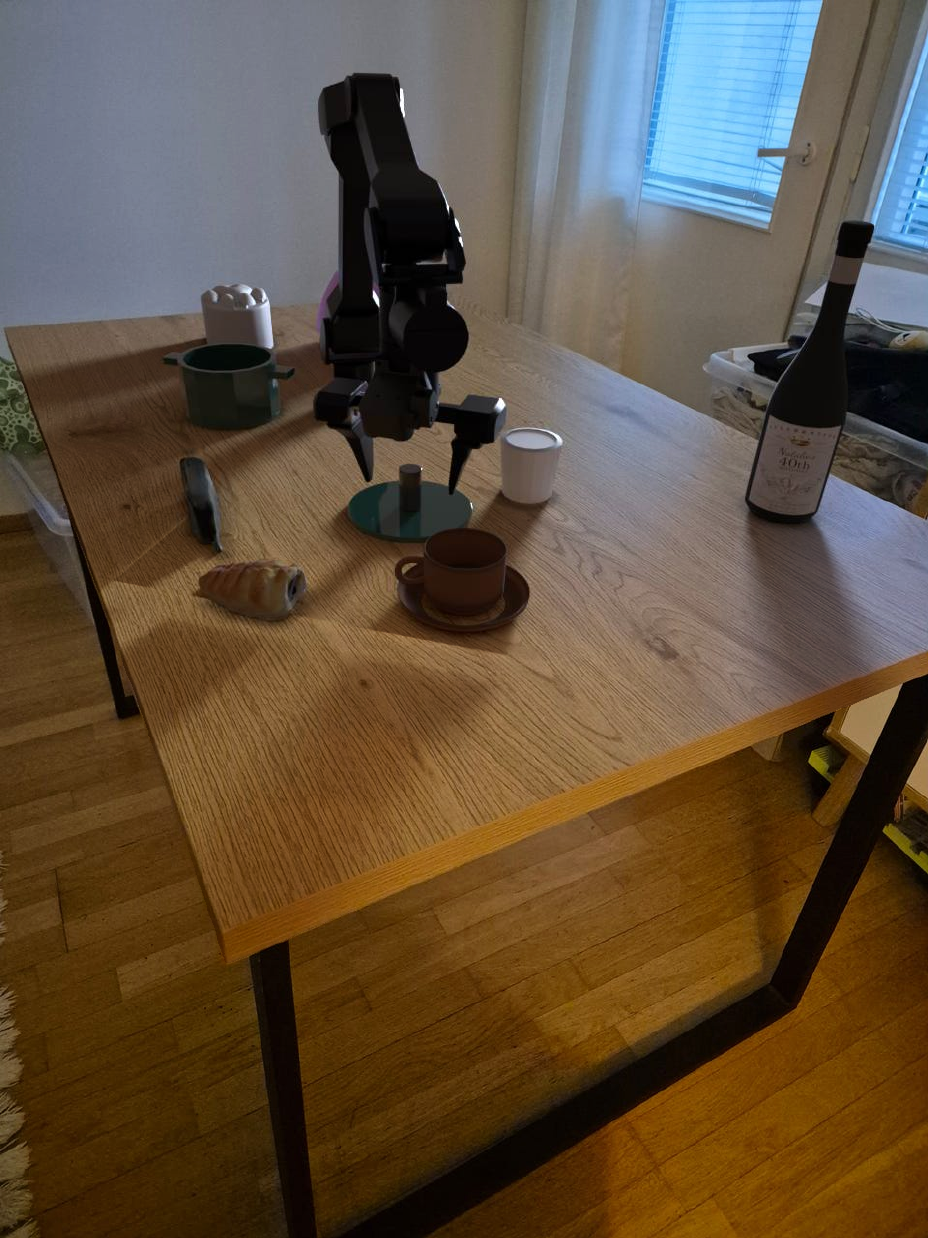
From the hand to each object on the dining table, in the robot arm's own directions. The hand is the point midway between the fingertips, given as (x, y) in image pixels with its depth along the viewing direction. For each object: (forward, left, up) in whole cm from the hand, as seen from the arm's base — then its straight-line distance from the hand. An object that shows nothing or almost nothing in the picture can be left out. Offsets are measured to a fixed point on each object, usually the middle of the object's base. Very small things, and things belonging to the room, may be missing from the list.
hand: (410, 487), depth 90 cm
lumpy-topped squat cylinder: (-48, -45, -4) cm, 66 cm away
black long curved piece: (+8, -20, -4) cm, 22 cm away
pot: (-21, -32, -4) cm, 38 cm away
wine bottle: (-15, +39, -4) cm, 42 cm away
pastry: (+20, -8, -4) cm, 22 cm away
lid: (0, 0, -3) cm, 3 cm away
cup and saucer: (+15, +10, -4) cm, 18 cm away
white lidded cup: (-9, +11, -4) cm, 15 cm away
